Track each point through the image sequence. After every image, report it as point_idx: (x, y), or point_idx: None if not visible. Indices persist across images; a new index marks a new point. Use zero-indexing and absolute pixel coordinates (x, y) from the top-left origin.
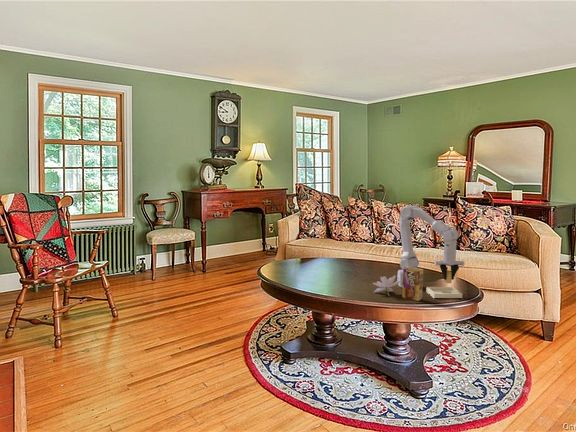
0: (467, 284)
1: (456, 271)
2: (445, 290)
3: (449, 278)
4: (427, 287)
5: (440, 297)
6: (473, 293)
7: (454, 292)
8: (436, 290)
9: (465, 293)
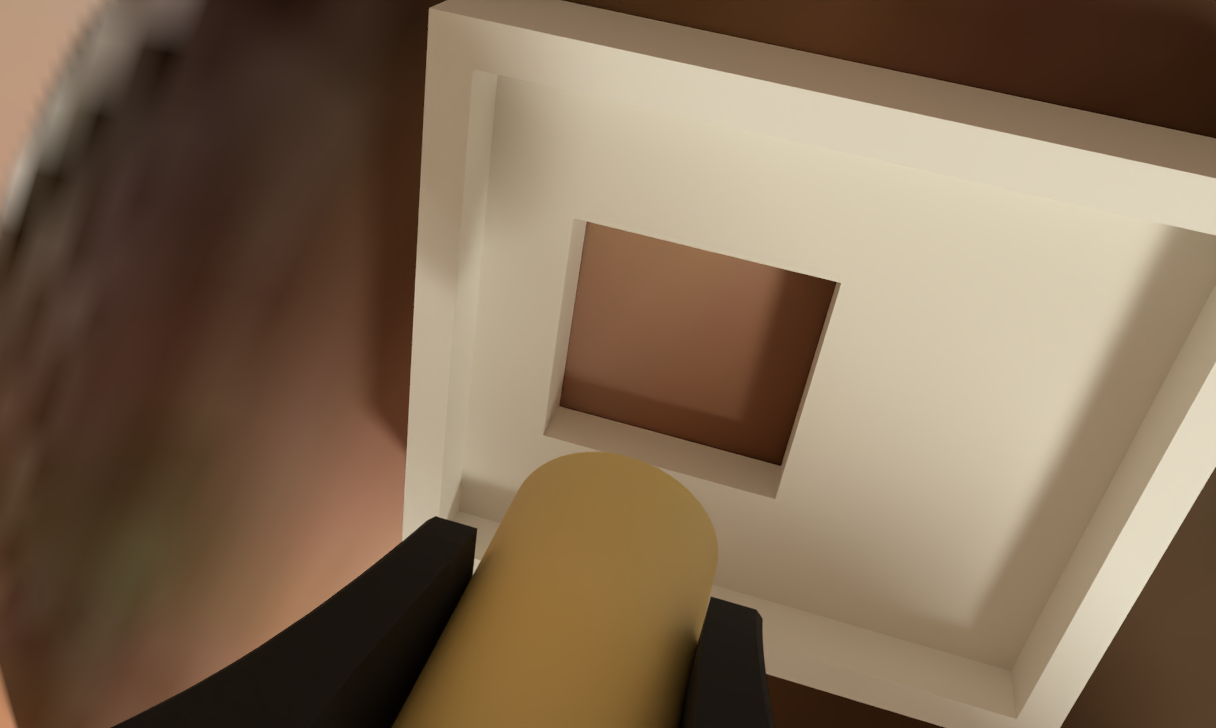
0: (29, 714)
1: (142, 721)
2: None
3: (584, 578)
4: (1051, 716)
5: (1107, 125)
6: (74, 301)
7: (496, 342)
8: (842, 575)
9: (231, 340)
